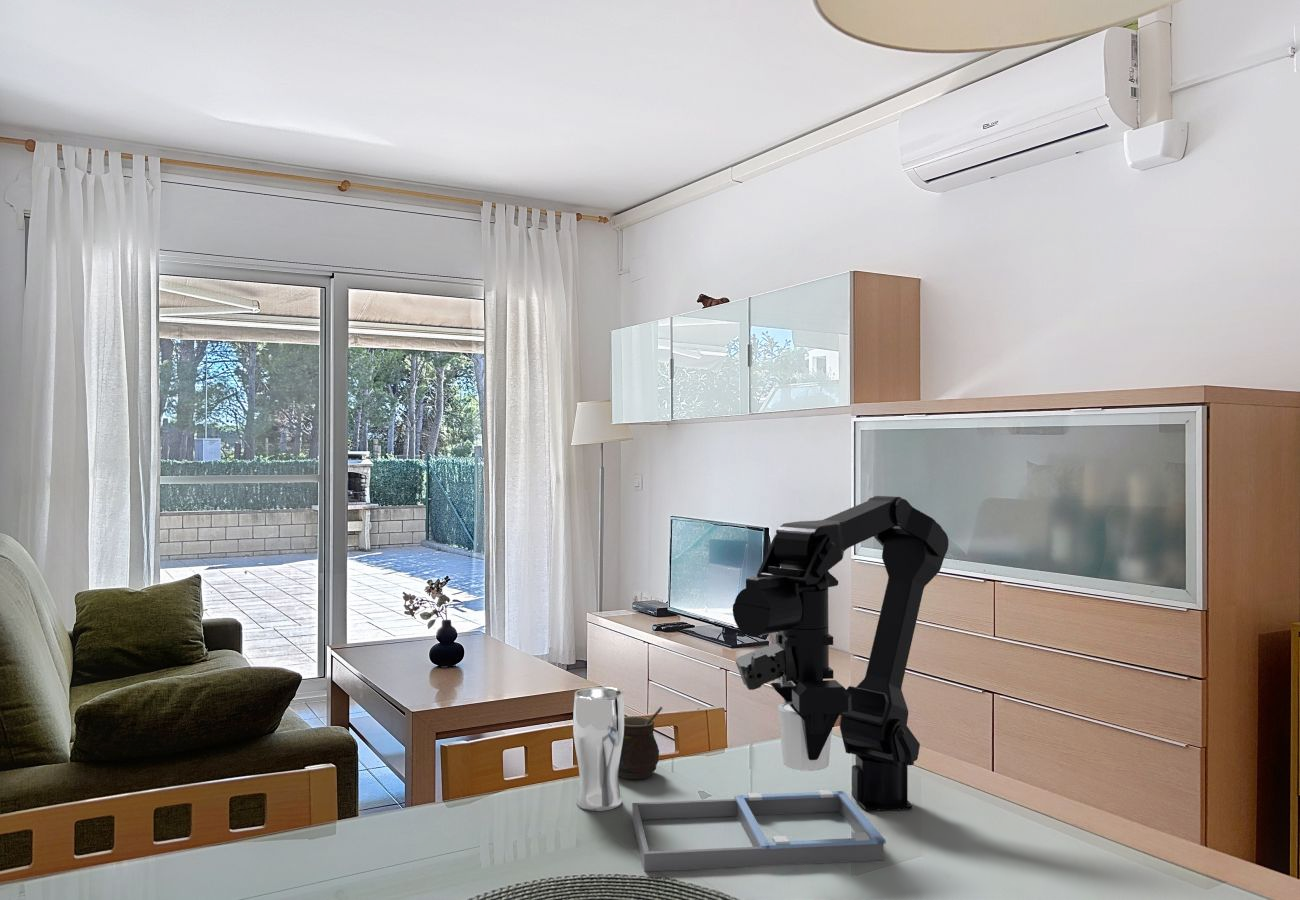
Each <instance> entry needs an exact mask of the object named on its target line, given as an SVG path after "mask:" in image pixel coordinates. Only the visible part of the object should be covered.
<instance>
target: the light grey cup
mask: <svg viewBox="0 0 1300 900" xmlns="http://www.w3.org/2000/svg"><path fill="white" fill-rule="evenodd" d="M789 704H793V701H790V702H786V703H785V702H782V703H780V704H778V705H777V712H778V721H779V731H780V744H781V752H782V753H781V755H782V763H783V765H784V766H785V767H787V768H789V769H792V770H796V771H802V772H803V771H806V772H812V771H821V770H824V769H826V768H828V767H829V765H830V754H831V753H830V752H831V742H832V730H833V729H832V730H831V732H830V734H829V736H828V738H827V741H826V743H825V745H824V747H823V749H822V751H821V753H820V756H819V758H818V759H817V760H809V759H808V755H807V750H806V744H805V738H804V731H803V725H802V719H801V717H800V716H799V715H798V714H797V713H796V712H795V711H794V710H793V709H792V708H791V707H790V705H789Z"/></svg>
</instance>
